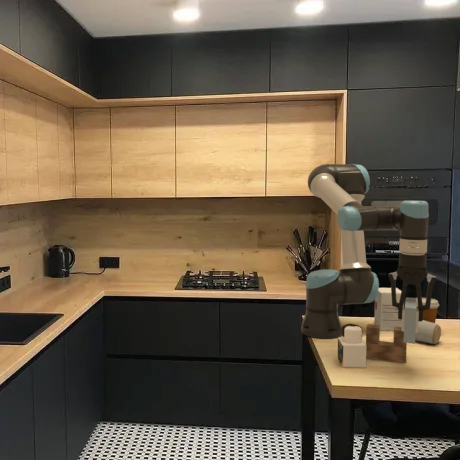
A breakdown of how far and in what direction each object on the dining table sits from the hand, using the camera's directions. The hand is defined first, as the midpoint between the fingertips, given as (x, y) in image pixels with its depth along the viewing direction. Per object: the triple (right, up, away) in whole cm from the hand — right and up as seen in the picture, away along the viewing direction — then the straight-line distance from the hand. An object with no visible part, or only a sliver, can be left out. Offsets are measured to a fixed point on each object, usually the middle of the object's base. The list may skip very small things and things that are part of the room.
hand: (409, 330), depth 134 cm
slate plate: (-2, -1, -4) cm, 4 cm away
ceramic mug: (+16, -10, +25) cm, 31 cm away
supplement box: (+8, -8, +41) cm, 42 cm away
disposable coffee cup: (+20, -9, +36) cm, 42 cm away
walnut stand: (-4, -11, +8) cm, 14 cm away
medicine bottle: (-16, -11, +4) cm, 20 cm away
